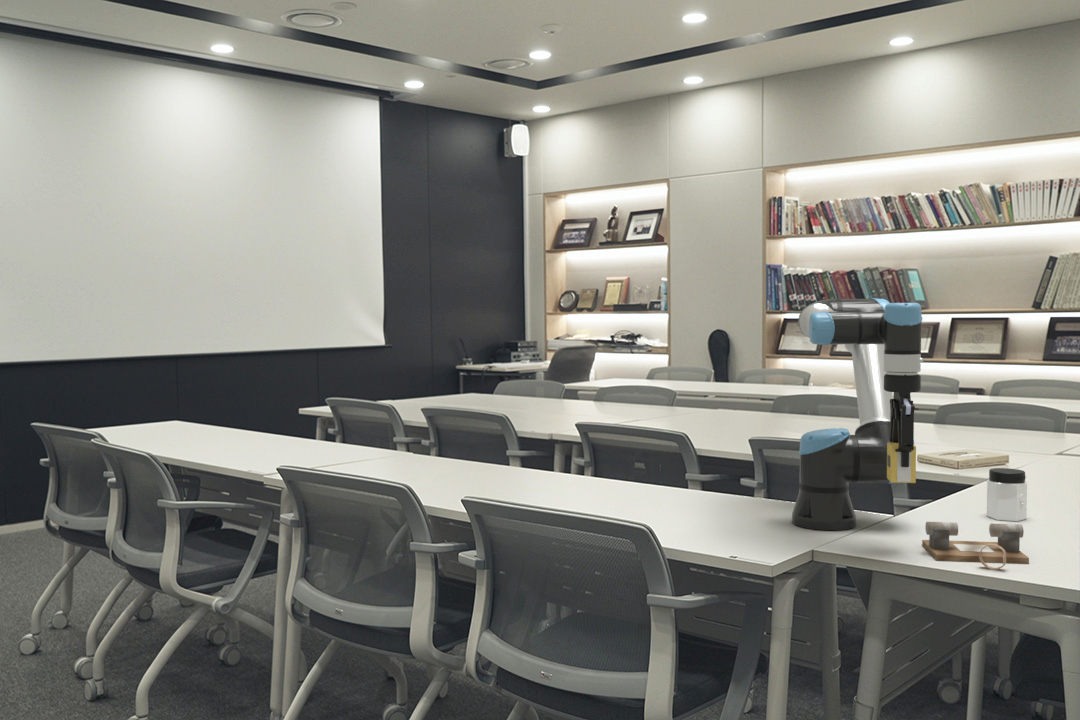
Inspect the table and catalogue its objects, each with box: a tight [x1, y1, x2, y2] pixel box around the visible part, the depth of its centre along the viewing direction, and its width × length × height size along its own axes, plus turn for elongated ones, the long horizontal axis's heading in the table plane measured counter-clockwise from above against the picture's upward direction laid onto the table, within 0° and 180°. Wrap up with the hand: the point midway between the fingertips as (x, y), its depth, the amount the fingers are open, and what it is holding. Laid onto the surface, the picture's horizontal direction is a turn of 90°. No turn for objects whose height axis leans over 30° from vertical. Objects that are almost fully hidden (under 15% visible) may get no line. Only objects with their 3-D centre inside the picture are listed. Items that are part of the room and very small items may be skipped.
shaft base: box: [921, 521, 1030, 564], centre depth 198 cm, size 19×13×7 cm
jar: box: [986, 467, 1028, 523], centre depth 232 cm, size 9×8×12 cm
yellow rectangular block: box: [887, 443, 917, 484], centre depth 202 cm, size 5×5×8 cm
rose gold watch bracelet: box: [979, 544, 1007, 571], centre depth 187 cm, size 3×5×5 cm, turn 55°
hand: (901, 478), depth 202 cm, fingers closed on yellow rectangular block, 5 cm apart
